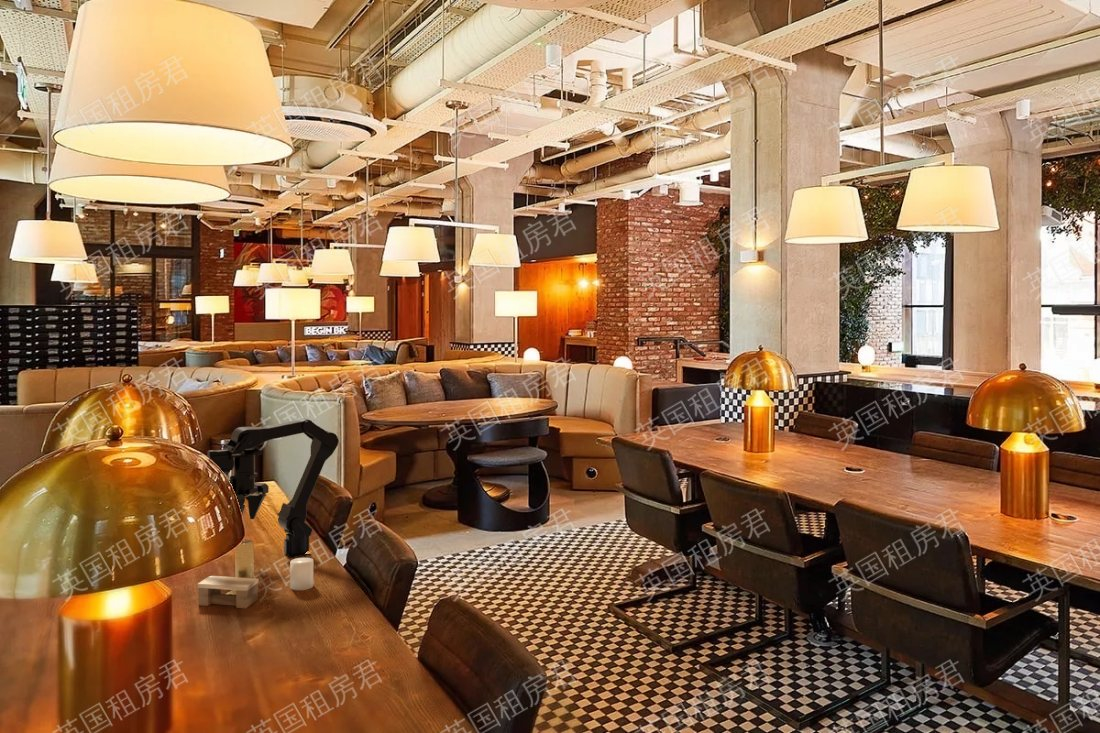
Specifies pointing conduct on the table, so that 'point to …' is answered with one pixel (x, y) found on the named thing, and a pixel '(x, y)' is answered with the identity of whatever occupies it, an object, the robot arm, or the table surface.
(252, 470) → the robot arm
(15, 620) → the table surface
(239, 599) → the bridge
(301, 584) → the white cylinder
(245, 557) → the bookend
